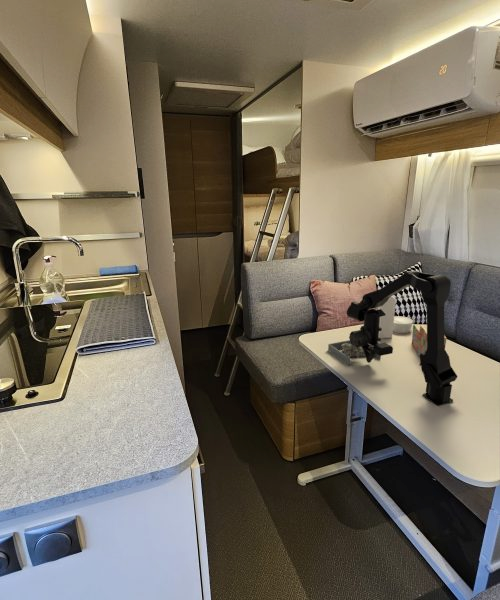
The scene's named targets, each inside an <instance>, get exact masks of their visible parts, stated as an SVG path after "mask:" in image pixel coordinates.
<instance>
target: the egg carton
mask: <svg viewBox="0 0 500 600" xmlns="http://www.w3.org/2000/svg"><path fill="white" fill-rule="evenodd" d="M341 346H342V349H341V352H342V353H344V354H345V355H346V356H348V357H349V358H352V356H353V357H360V356H364V357H365V353H364V350H363V348H362V347H358V348H357V347H355V346H354V345H352V344H348V343H344V344H342V345H341ZM359 355H360V356H359Z"/></svg>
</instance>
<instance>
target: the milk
mask: <svg viewBox="0 0 500 600" xmlns="http://www.w3.org/2000/svg"><path fill="white" fill-rule="evenodd" d="M396 303H397V299H396V298H395V297H394V295H393V296H391V297H390V298H389V299H388V301H387V302H386V303H385V304H384V305H383V306H380V307H376V310H379V309H382V311H383V312H384V313H385V314H386V315H385V316H382V317H380V324H379V327H380V328H382V331H379V338H381V339H392V338H393V333H394V332H393V324H394V316H395V313H396V312H395V311H396Z"/></svg>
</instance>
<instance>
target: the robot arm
mask: <svg viewBox="0 0 500 600" xmlns="http://www.w3.org/2000/svg"><path fill="white" fill-rule="evenodd" d="M410 286H411V287H412V288H413V289H415V290H417V291H420V295H421V298H422V299H423V301H424V303H425V305H426V325H427V350H426V352H423V353H420V356H419V360H420V361H419V365H418V366H419V367H420V368H421V369H420V370H421V372H422V373H423V377H424V382H425V383H426V386H425V387H426V388H425V392H424V393H422V396H423V397H424V398H426V399H427V400H429V401H430V402H432V403H433V404H435V405H436V406H442V405H446V404H449V403H453V402H454V399H453V398H451V394H452V388H453V385H452V383H453V382H455V381H456V380H457V379H458V375H457V373H456V371H454V369H453V366H452V365H451V360H450V356H449V354H448V353H447V351H446V347H445V348H444V335H445V304H446V302H447V299H448V298H449V295H450V291H451V286H452V281H451V280H450V278H448V277H447V276H446V275H444V274H433V273H432V274H431V273H426V272H422V271H418V270H409V271H406V272H404V273H403V274H401V275H400V276H399V277H397V278H395V279H394V280H392V281H391V282H389V283H387V284H386V285H384V286H383V287H381V288H379V289H377V290H375V291H371V292H368V293H365V294H363V295H362V298H361V300H360V302H358V301H354V300H353V301H351V302H350V305H349V306H348V308H347V310H346V315H347V317H348V318H351V319H352V320H356V321H358V322H363V325H361V326H360V328H359V330H354V331H351V332H350V333H349V336H348V338H349V340H350V342H351V344H352V345H354V346H355V347H357V348H358V347H362V348H363V351H364V353H365V356H364V358H365V360H366V363H368V364H369V363H371V362H372V360H373V359H374V358H375V355H376V354H377V355H380V356H381V357H382V356H386V355H391V354H393V353H394V347H393V346H392V345H390V344H388V343H387V342H381V341H382V338H379V331H382V328H380V327H379V324H380V317H382V316H385V315H386V314H385V313H384V312H383V311H382V309H379V310H377V307H380V306H383V305H384V304H385V303H386V302H387V301H388V299H389V298H390V297H391V296H393V297H394V295H396V294H398V293H400V292H401V291H402V290H404V289H407V287H410Z"/></svg>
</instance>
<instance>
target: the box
mask: <svg viewBox="0 0 500 600" xmlns="http://www.w3.org/2000/svg"><path fill="white" fill-rule="evenodd" d="M344 343H348V344H351V342H350V339H349V340H344V341H343V340H342V341H337V342H333V343H328V345H327V346H328V347H327V349H328V350H327V351H329V352H330V353H331V354H332V355H334V356H335V357H336V358H338V359H339V360H341V361H342V362H343V363H345V364H346V365H348V366H351V358H352V357H348V356H346V355H345V354H344V353H343V352H342V346H341V345H342V344H344ZM340 350H341V351H340ZM381 357H382V356H380V355H377V354H376V355H375V356H374V358H377V359H379V360H381V359H382V358H381Z"/></svg>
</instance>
